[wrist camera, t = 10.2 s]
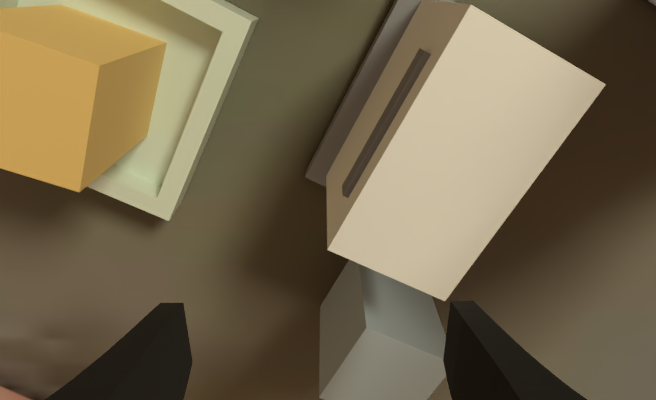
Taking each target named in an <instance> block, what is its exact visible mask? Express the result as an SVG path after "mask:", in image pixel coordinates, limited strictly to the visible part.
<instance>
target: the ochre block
mask: <svg viewBox="0 0 656 400" xmlns="http://www.w3.org/2000/svg"><path fill="white" fill-rule="evenodd" d="M166 45H167V42H164V41H161V40H159V39H156V38H153V37H150V36H148V35H145V34H142V33H139V32H137V31H134V30H131V29H128V28H125V27H123V26H120V25H117V24H114V23H112V22H109V21H106V20H103V19H101V18H98V17H95V16H92V15H89V14H87V13H84V12H81V11H78V10H76V9H73V8H70V7H67V6H65V5H46V6H29V7H12V8H0V168H1V169H4V170H8V171H11V172H14V173H17V174H21V175H24V176H27V177H31V178H34V179H37V180H40V181H44V182H47V183H50V184H54V185H57V186H60V187H63V188H67V189H70V190H73V191H76V192H81V191H82V190H83V189H84V188H85V187H87V186H88V185H89V184H90V183H91V182H93V181H94V180H95V179H96V178H97V177H99V176H100V175H101V174H102V173H103V172H105V171H106V170H107V169H108V168H109V167H111V166H112V165H113V164H114V163H115V162H117V161H118V160H119V159H120V158H121V157H123V156H124V155H125V154H126V153H127V152H129V151H130V150H131V149H132V148H133V147H135V146H136V145H137V144H138V143H139V142H141V141H142V140H143V139H144V138H145V137H147V135H148V130H149V125H150V121H151V116H152V111H153V106H154V102H155V97H156V92H157V87H158V83H159V78H160V73H161V69H162V64H163V59H164V54H165V50H166Z"/></svg>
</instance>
